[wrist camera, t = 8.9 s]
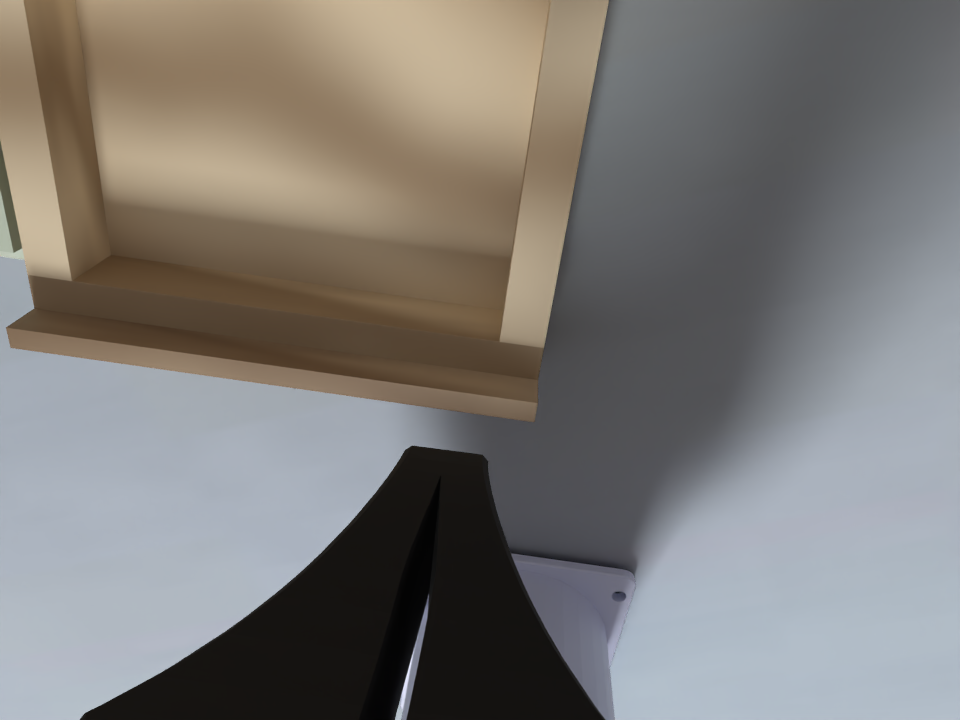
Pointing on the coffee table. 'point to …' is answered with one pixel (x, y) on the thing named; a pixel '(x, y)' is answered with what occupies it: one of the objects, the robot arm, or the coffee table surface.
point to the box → (299, 187)
